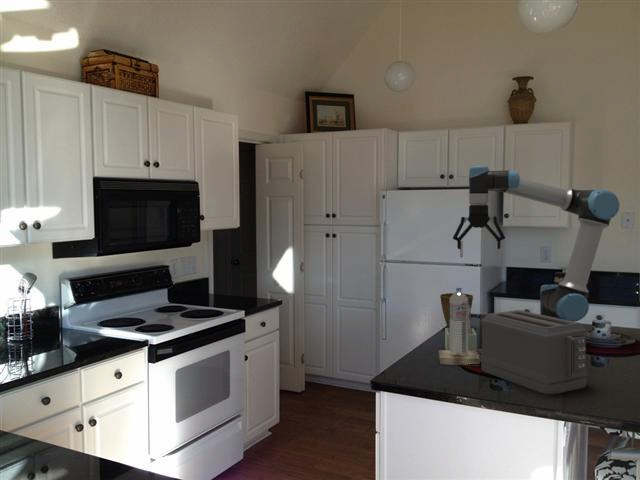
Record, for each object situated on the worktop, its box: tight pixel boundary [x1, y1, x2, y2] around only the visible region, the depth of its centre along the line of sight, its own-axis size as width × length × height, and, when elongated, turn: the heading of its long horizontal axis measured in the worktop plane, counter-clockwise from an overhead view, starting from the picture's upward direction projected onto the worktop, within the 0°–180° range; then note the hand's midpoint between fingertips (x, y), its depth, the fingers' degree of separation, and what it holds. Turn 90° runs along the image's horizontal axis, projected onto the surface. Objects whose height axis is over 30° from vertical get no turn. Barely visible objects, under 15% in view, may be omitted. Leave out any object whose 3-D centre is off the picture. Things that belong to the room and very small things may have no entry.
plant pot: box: [439, 292, 474, 328], centre depth 271 cm, size 15×15×16 cm
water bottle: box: [450, 287, 469, 356], centre depth 218 cm, size 7×7×25 cm
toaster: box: [479, 309, 589, 395], centre depth 196 cm, size 19×34×20 cm, turn 26°
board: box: [438, 349, 481, 366], centre depth 219 cm, size 14×11×2 cm
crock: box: [444, 327, 478, 352], centre depth 233 cm, size 11×11×8 cm
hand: (478, 257), depth 237 cm, fingers open, 13 cm apart
